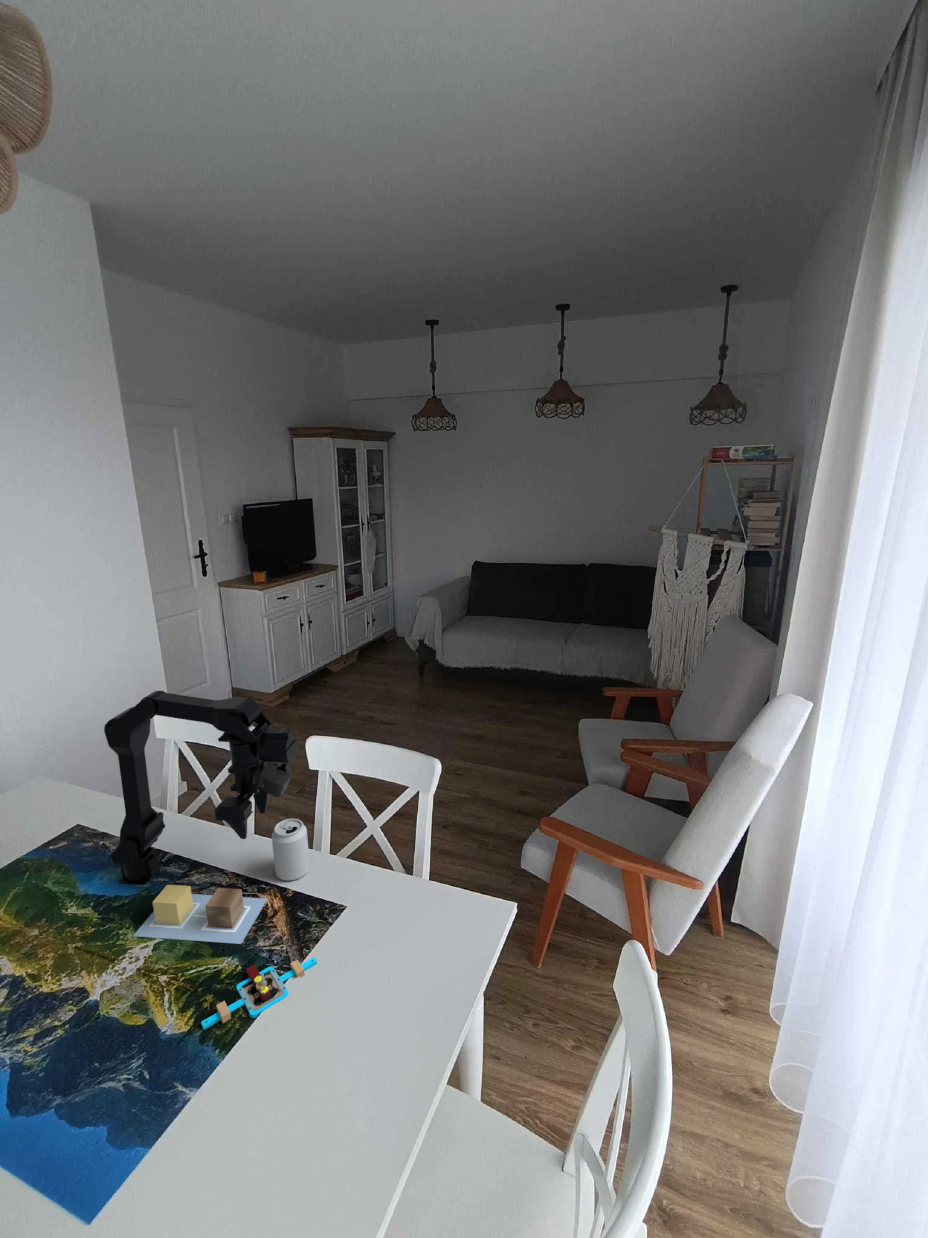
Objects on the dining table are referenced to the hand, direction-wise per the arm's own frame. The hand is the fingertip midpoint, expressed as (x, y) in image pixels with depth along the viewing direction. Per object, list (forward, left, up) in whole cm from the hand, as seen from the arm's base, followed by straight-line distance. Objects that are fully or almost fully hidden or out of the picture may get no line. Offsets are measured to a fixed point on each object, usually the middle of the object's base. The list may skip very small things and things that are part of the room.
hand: (253, 825), depth 124 cm
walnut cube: (-2, -11, -14) cm, 18 cm away
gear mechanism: (+12, -26, -15) cm, 32 cm away
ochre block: (-13, -11, -14) cm, 22 cm away
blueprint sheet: (-7, -11, -15) cm, 20 cm away
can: (+6, +4, -15) cm, 16 cm away
